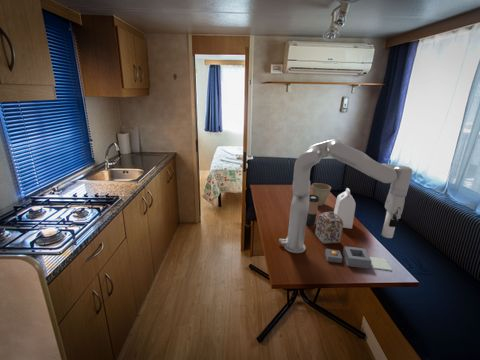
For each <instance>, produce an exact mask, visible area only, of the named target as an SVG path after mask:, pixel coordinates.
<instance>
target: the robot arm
mask: <svg viewBox="0 0 480 360" xmlns="http://www.w3.org/2000/svg"><path fill="white" fill-rule="evenodd" d="M328 157H331V158H333V159H335V160H337V161H339V162H340V163H343V164H346V165H347V166H350V167H352V168H354V169H355V170H357V171H359V172H360V173H363V174H365V175H367V176H368V177H371V178H372V179H373V180H374V179H375V180H377V181H379V182H381V183H383V184H390V185H389V186H390V187H389V190H388V194H387V196H386V200H385V202H384V208H385V210H386V211H385V216H384V219H385V218H386V214H387V211H388V212H389V213H390V214H392V218H391V219H390V223H389V227H395V228H396V227H397V224H398V221H399V220H400V219H401V218H402V217H401V216H402V213H403V210H404V207H405V201H406V200H405V199H406V197H407V193H408V190H409V186H410V183H411V179H412V174H413V169H412V168H411V167H409V166H405V165H393V164H389V163H384V162H383V163H380V162H378V161H376V160H374V159H373V158H372V157H370V156H369V155H368V154H366V153H364V152H363V151H362V150H360V149H356V148H354V147H352V146H350V145H347V144H345V143H344V142H342V141H341V140H340V139H338V138H333V139H330V140H327V141H323V142H319V143H315V144H312V145H310V146H309V147H307V149H306V150H305V151H304V152H303V153H301V154H300V155H299V156H298V157H297V159H296V160H295V162H294V167H293V177H292V178H293V179H292V201H291V203H290V208H289V209H290V210H289V220H288V221H289V222H288V229H287V236H286V238H279V239H278V242H279V243H280V244H281V245H283V247H284V249H285V250H286V251H288V252H290V253H293V254H302V253H304V252H305V251H306V248H307V247H306V245H305V244H304V242H305V236H306V235H305V233H306V227H307V224H306V222H307V215H308V210H309V197H310V195H311V194H310V193H311V180H310V178H311V176H310V175H311V169H312V167H313V166H315V165H317V164H318V163H320V161H322V159H324V158H328ZM395 213H397V214H395ZM394 215H397V216H395V217H394Z"/></svg>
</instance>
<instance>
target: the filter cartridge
mask: <svg viewBox="0 0 480 360" xmlns="http://www.w3.org/2000/svg"><path fill="white" fill-rule="evenodd" d="M386 211H387V210H386ZM395 214H397V213H395ZM385 216H386V218H385V217H384V223H383V226H382V230H381V236H382V237H384V238H386V239H392V238H393V237H394V235H395V230H396V227H389V223H390V219H391V218H392V214H390V213H389V212H388V211H387V214H386V213H385ZM395 216H397V215H394V217H395Z"/></svg>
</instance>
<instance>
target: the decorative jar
mask: <svg viewBox="0 0 480 360" xmlns="http://www.w3.org/2000/svg"><path fill="white" fill-rule="evenodd" d="M315 224H316V226H315V231H314V235H315V236H316V238H317V239H318V240H319V241H320V242H321V243H322V244H325V245H326V244H339V243H341V239H342V235H343V234H342V233H343V221H342V219H341V217H340V216H339V215H337V214H335V213H334V211H325V212H322V213H320V214H319V215H318V216H317V218H316V223H315Z"/></svg>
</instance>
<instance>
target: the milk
mask: <svg viewBox="0 0 480 360" xmlns="http://www.w3.org/2000/svg"><path fill="white" fill-rule="evenodd" d="M356 206H357V205H356V201H355V199H354V198H353V195H352V194H351V190H350V188H348V187H346V188H345V191H343V192H341V193H339V194H338V195H337V197H336V201H335V206H334V209H333V212H334V213H335V214H337V215H339V216H340V217H341V219H342V221H343V228H345V229H353V225H354V217H355V213H356Z"/></svg>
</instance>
